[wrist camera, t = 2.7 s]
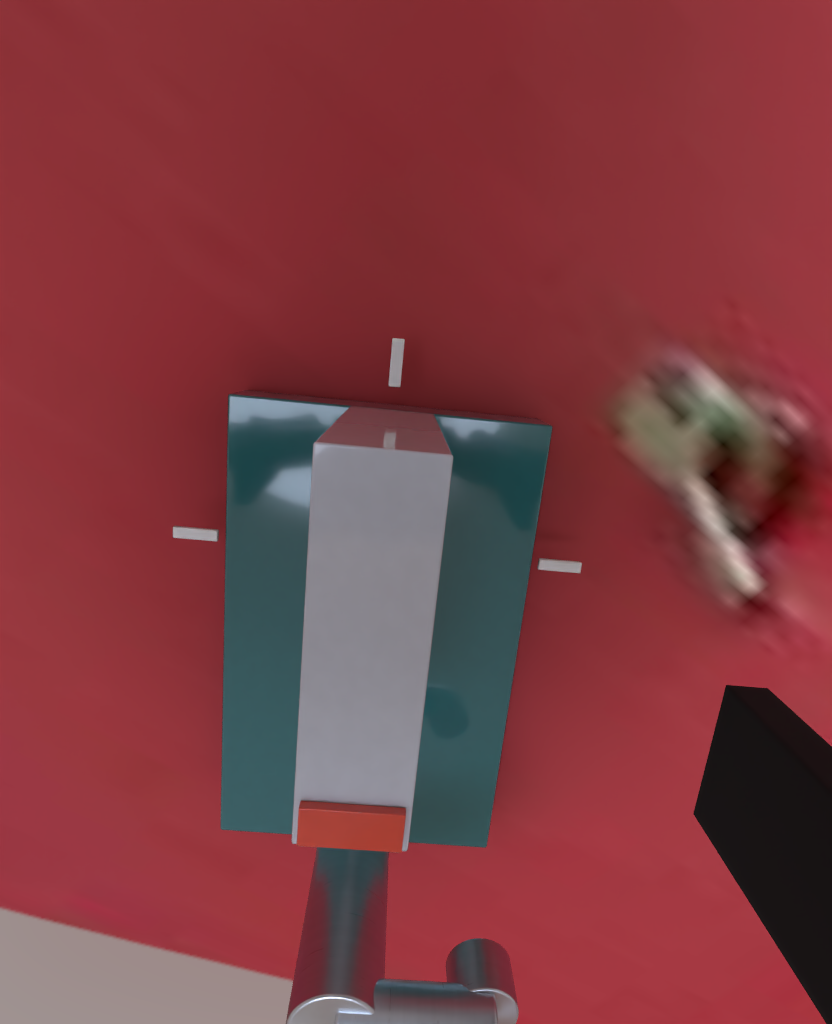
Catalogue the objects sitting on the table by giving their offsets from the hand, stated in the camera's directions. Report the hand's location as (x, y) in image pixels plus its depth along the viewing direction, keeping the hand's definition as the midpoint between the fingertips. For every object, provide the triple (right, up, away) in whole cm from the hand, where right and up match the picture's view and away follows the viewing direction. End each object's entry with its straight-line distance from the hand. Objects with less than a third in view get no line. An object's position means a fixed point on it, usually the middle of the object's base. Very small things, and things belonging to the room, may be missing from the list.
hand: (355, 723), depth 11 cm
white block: (0, +3, +9) cm, 9 cm away
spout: (0, -7, +11) cm, 14 cm away
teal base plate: (0, +1, +11) cm, 11 cm away
